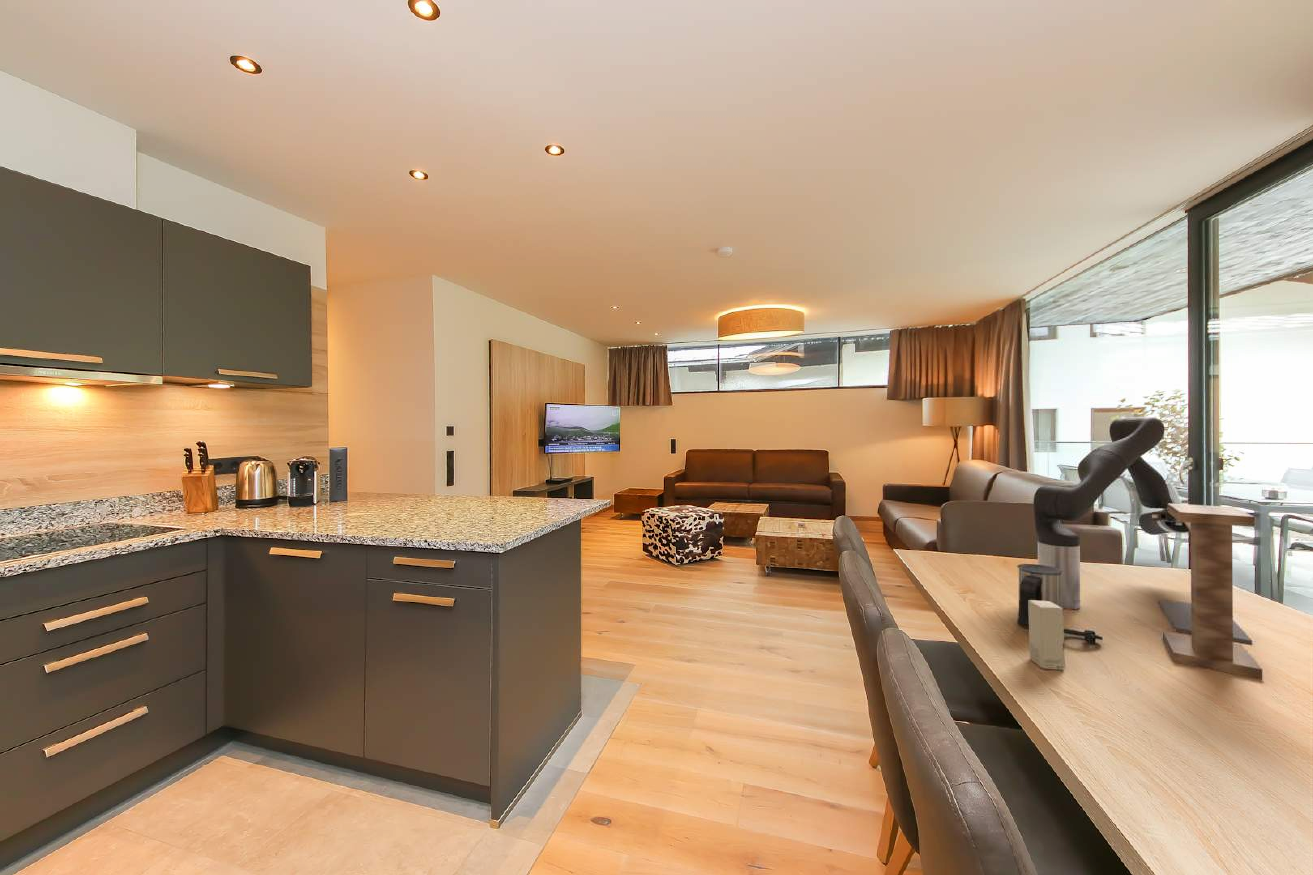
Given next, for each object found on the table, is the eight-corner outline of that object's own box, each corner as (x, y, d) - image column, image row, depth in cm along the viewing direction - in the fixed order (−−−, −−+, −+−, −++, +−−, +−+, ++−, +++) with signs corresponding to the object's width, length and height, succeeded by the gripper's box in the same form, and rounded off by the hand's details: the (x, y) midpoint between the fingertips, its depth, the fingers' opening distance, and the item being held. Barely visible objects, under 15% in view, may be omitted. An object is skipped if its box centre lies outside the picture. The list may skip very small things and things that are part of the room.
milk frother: (1017, 616, 129) (1016, 561, 129) (1096, 630, 120) (1096, 570, 120) (1017, 635, 118) (1016, 574, 118) (1105, 651, 108) (1104, 585, 108)
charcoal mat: (1175, 631, 118) (1175, 627, 118) (1158, 601, 138) (1158, 598, 138) (1252, 643, 111) (1252, 640, 111) (1221, 610, 131) (1221, 607, 131)
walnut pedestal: (1174, 662, 103) (1173, 511, 102) (1162, 638, 114) (1161, 502, 114) (1263, 680, 95) (1262, 517, 95) (1240, 652, 107) (1239, 507, 106)
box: (1066, 671, 100) (1065, 608, 100) (1041, 669, 101) (1041, 607, 101) (1050, 659, 105) (1050, 600, 105) (1027, 657, 106) (1027, 599, 106)
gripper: (1142, 504, 146) (1157, 500, 132) (1211, 508, 138) (1235, 504, 124) (1144, 530, 145) (1159, 528, 131) (1213, 535, 137) (1237, 534, 123)
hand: (1196, 516), depth 128 cm, fingers closed on birch bar, 3 cm apart
